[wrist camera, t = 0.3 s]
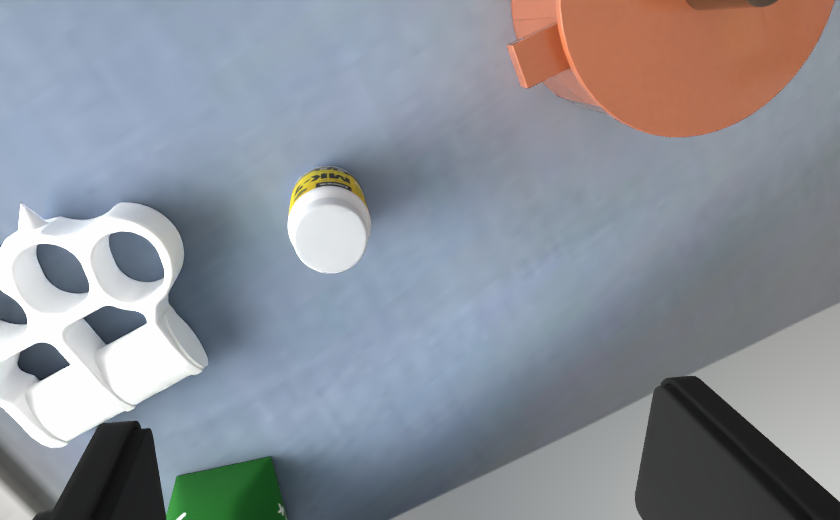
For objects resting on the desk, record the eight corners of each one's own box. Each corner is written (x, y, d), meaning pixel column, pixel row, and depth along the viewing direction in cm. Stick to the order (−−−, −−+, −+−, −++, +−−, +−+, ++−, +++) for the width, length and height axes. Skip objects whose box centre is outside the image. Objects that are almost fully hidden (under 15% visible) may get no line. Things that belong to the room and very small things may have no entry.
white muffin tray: (29, 451, 42) (-138, 287, 37) (251, 330, 42) (119, 147, 36) (7, 483, 39) (-178, 311, 34) (247, 354, 39) (101, 158, 33)
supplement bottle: (352, 155, 39) (362, 186, 31) (371, 222, 41) (386, 266, 33) (280, 176, 39) (273, 211, 31) (303, 241, 41) (302, 291, 33)
